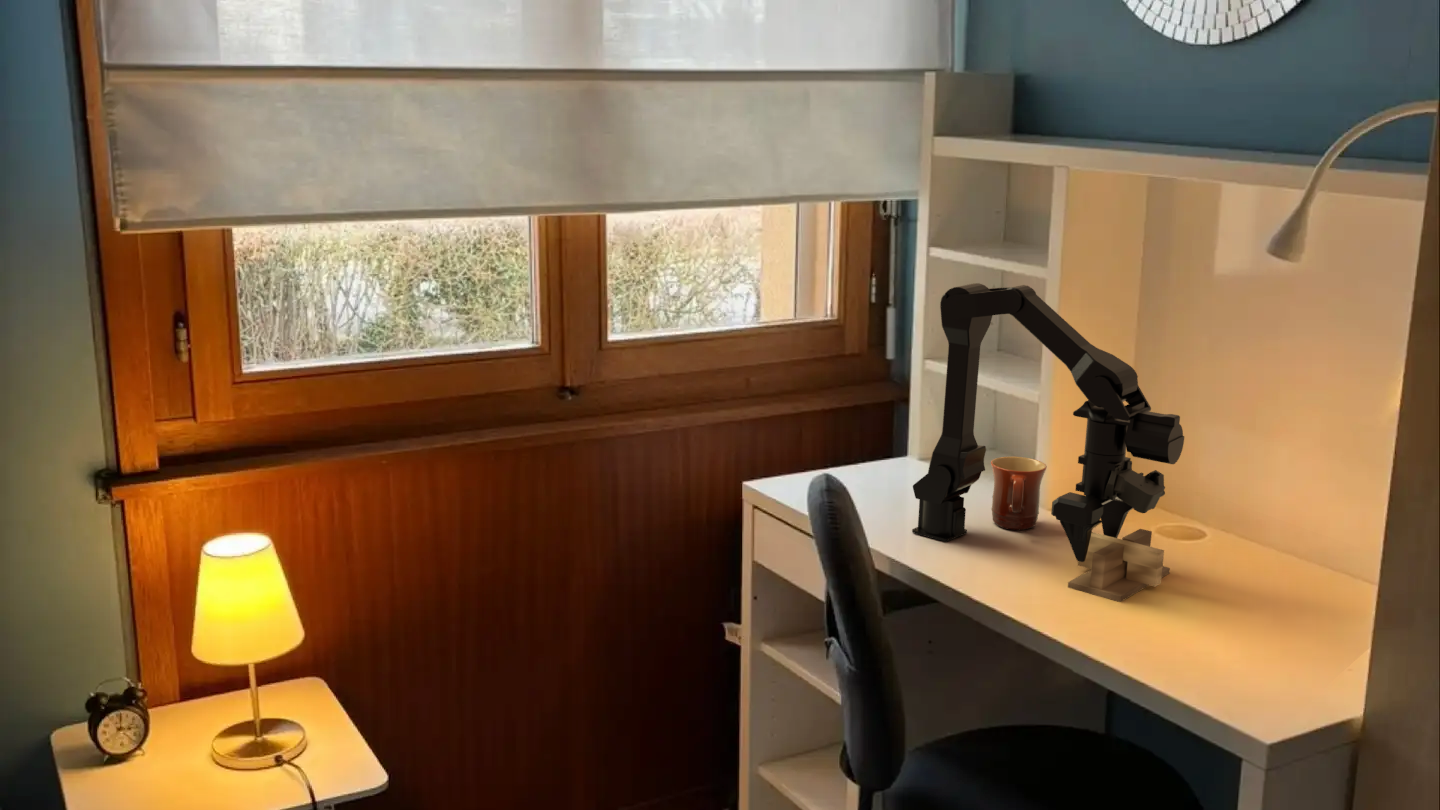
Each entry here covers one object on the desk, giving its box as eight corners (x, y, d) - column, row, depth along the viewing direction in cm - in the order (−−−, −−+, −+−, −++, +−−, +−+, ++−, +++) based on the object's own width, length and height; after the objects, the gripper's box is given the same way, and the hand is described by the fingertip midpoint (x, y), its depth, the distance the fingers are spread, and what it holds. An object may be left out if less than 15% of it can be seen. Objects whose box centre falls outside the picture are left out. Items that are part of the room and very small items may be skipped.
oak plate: (1077, 565, 203) (1080, 533, 202) (1083, 562, 204) (1086, 530, 203) (1155, 586, 195) (1158, 553, 194) (1160, 583, 197) (1164, 550, 196)
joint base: (1067, 587, 197) (1071, 548, 195) (1118, 559, 208) (1122, 523, 207) (1120, 601, 192) (1124, 562, 190) (1169, 573, 203) (1173, 535, 202)
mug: (987, 514, 229) (991, 454, 226) (1041, 518, 227) (1046, 458, 225) (985, 537, 217) (990, 474, 215) (1042, 542, 215) (1047, 479, 213)
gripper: (1128, 475, 186) (1118, 584, 190) (1186, 449, 200) (1175, 551, 204) (1054, 458, 193) (1045, 564, 197) (1114, 435, 207) (1105, 534, 211)
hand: (1095, 553), depth 202 cm, fingers open, 9 cm apart
